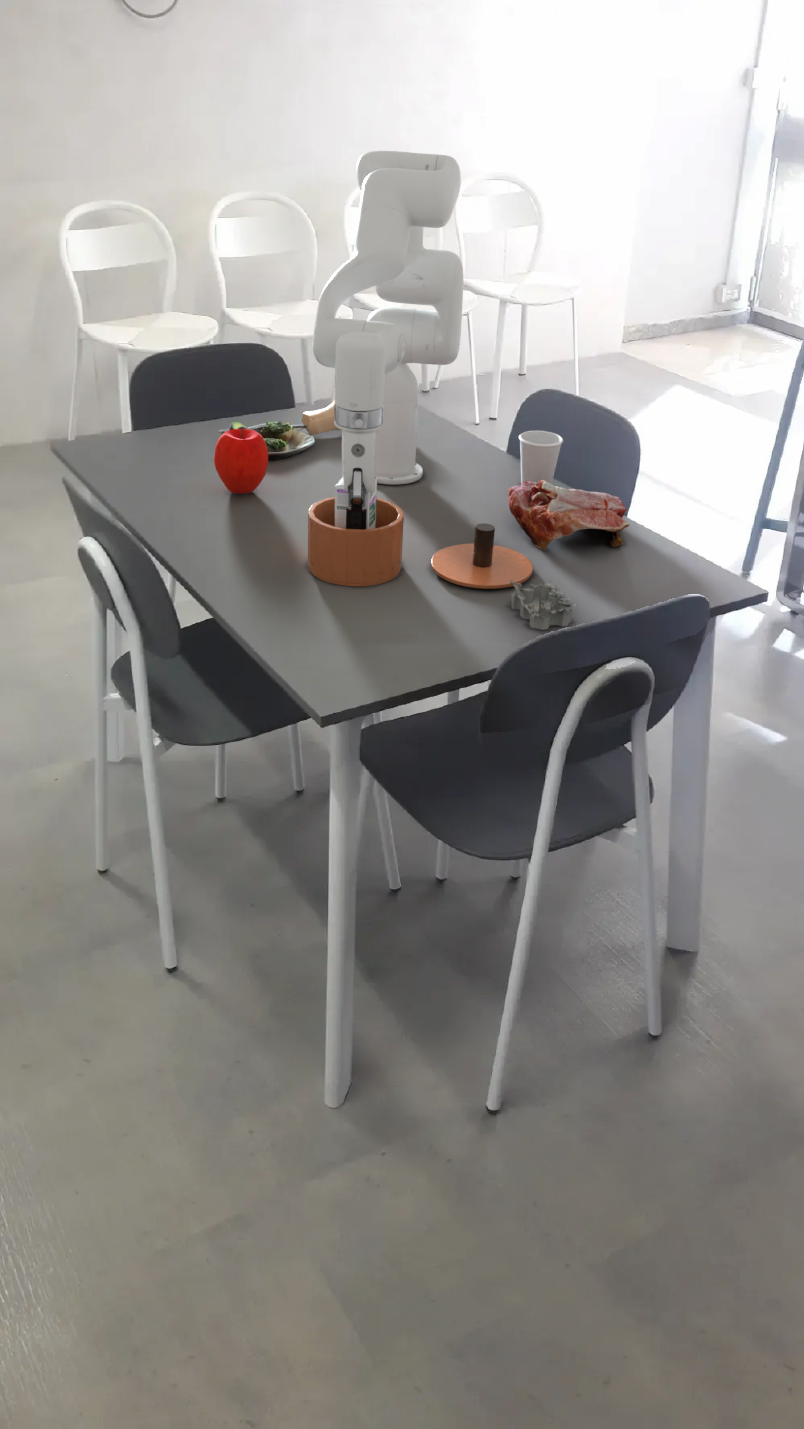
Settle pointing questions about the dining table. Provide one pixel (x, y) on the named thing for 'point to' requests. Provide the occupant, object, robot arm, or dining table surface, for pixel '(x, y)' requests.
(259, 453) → the apple
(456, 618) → the dining table surface
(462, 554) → the lid
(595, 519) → the meat
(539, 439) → the dixie cup
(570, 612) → the egg carton
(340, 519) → the syrup box
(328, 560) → the pot
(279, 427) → the salad plate
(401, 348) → the robot arm
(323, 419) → the squash
